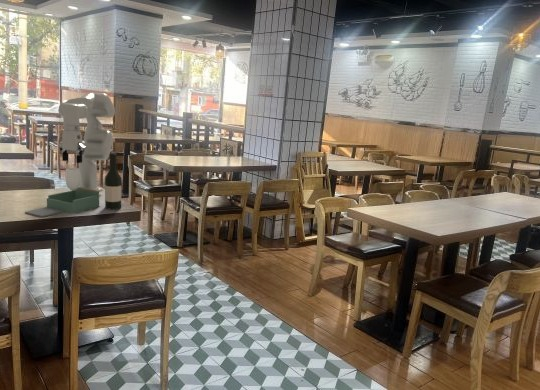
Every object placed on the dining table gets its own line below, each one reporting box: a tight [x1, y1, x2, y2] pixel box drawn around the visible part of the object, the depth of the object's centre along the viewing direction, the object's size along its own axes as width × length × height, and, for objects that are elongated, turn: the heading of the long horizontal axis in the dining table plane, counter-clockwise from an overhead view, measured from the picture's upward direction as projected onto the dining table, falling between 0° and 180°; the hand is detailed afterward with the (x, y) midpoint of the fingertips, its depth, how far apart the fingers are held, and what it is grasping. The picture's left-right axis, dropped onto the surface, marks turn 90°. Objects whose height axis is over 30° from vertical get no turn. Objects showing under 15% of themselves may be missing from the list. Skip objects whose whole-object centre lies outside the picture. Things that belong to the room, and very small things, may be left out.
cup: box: [65, 167, 80, 191], centre depth 231 cm, size 7×7×21 cm
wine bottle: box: [104, 152, 122, 211], centre depth 235 cm, size 8×8×30 cm
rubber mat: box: [24, 206, 64, 218], centre depth 219 cm, size 12×12×1 cm
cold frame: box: [46, 186, 101, 214], centre depth 232 cm, size 18×18×9 cm
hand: (72, 161), depth 227 cm, fingers open, 9 cm apart
